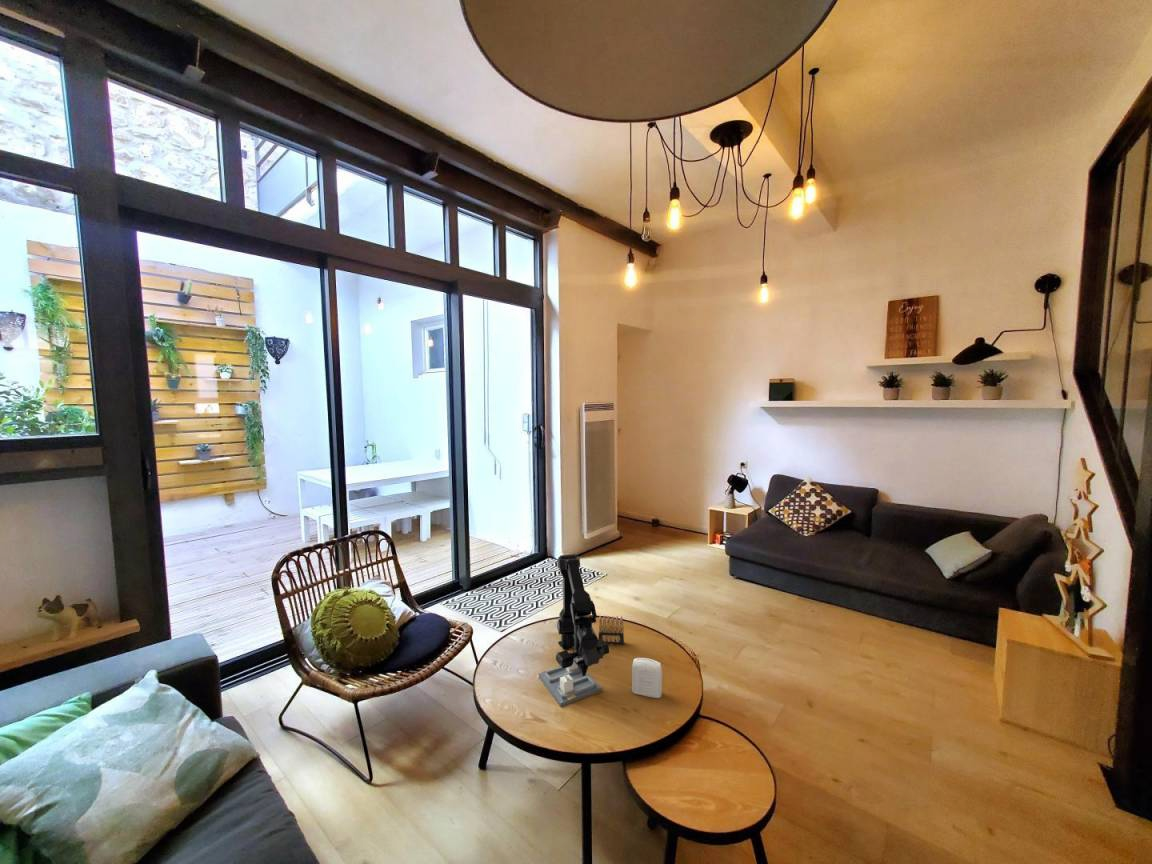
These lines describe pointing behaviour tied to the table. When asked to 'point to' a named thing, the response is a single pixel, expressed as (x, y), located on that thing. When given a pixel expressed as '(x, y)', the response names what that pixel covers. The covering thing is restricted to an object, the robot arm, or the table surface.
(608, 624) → the ammunition clip
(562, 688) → the white block
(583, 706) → the table surface
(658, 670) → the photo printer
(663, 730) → the table surface
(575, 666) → the white rectangular block
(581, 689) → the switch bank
